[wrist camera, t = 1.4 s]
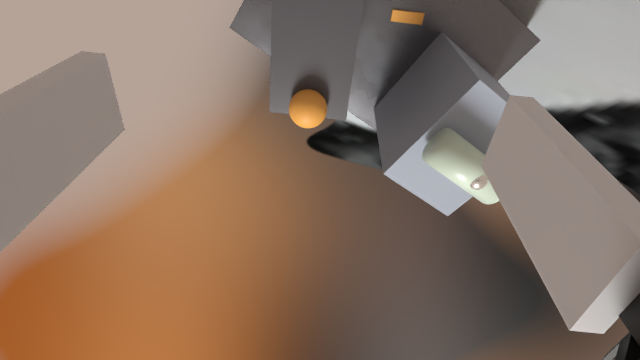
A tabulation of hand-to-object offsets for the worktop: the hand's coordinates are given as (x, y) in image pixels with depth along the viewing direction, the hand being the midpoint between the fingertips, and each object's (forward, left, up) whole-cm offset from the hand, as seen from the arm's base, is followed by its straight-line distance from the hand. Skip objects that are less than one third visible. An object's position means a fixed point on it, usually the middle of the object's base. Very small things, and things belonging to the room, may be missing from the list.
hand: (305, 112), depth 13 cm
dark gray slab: (0, 0, -18) cm, 19 cm away
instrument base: (+5, +1, -22) cm, 22 cm away
